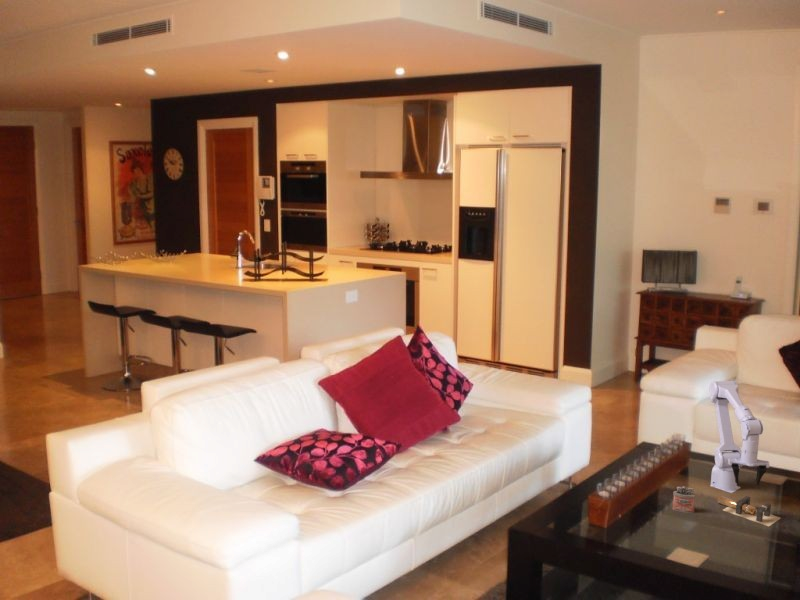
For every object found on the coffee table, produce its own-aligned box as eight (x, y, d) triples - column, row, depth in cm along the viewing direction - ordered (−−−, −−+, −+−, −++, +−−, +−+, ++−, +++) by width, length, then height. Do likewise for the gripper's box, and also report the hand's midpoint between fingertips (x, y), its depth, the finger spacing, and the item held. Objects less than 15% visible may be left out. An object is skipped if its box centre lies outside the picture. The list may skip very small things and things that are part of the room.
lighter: (671, 511, 321) (673, 487, 319) (672, 508, 324) (674, 483, 322) (694, 515, 318) (695, 490, 316) (694, 511, 321) (696, 487, 319)
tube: (717, 504, 326) (717, 496, 325) (720, 501, 328) (721, 494, 327) (752, 516, 315) (752, 508, 315) (755, 513, 317) (756, 506, 317)
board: (722, 511, 321) (723, 498, 320) (734, 503, 327) (735, 491, 326) (768, 527, 307) (769, 514, 306) (781, 519, 314) (782, 506, 313)
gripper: (731, 452, 319) (729, 485, 322) (772, 455, 316) (769, 488, 319) (728, 445, 326) (725, 478, 329) (767, 448, 323) (764, 481, 326)
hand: (746, 483), depth 324 cm, fingers open, 7 cm apart
